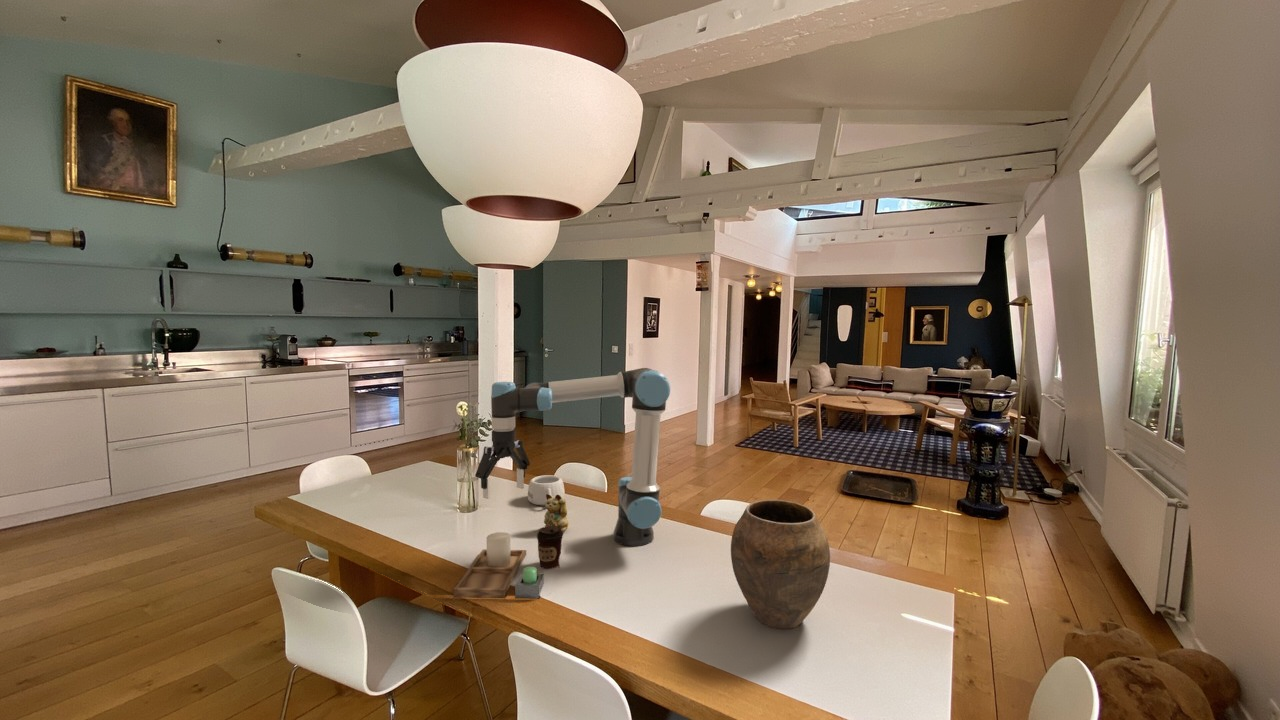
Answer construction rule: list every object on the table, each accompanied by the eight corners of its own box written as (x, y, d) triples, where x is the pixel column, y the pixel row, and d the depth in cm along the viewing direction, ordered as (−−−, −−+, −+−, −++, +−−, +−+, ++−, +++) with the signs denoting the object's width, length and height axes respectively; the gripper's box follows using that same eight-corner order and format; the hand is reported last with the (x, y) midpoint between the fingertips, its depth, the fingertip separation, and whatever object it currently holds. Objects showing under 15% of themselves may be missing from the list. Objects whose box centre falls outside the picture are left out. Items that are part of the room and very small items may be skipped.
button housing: (543, 586, 158) (543, 574, 158) (539, 598, 151) (539, 585, 151) (521, 586, 158) (520, 573, 158) (515, 598, 151) (515, 585, 151)
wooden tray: (526, 557, 178) (526, 550, 178) (505, 598, 151) (504, 590, 151) (482, 556, 178) (482, 549, 178) (453, 597, 151) (453, 589, 151)
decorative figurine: (540, 533, 199) (540, 495, 198) (549, 525, 207) (549, 488, 206) (564, 536, 196) (564, 497, 195) (572, 527, 204) (572, 490, 203)
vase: (710, 616, 143) (712, 509, 141) (762, 583, 161) (764, 489, 159) (797, 660, 124) (800, 538, 122) (844, 617, 143) (848, 511, 141)
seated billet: (513, 558, 175) (513, 532, 174) (507, 568, 167) (506, 541, 167) (490, 558, 175) (490, 532, 174) (483, 568, 167) (483, 541, 167)
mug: (525, 496, 241) (525, 475, 241) (561, 493, 246) (561, 472, 246) (530, 512, 221) (530, 489, 220) (569, 508, 226) (569, 486, 225)
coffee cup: (557, 575, 166) (557, 535, 165) (532, 572, 167) (532, 533, 166) (566, 563, 174) (566, 525, 173) (543, 560, 176) (542, 523, 175)
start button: (537, 582, 157) (537, 566, 156) (535, 589, 153) (535, 573, 152) (524, 582, 157) (524, 566, 156) (521, 589, 153) (521, 572, 152)
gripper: (525, 422, 182) (526, 481, 183) (463, 433, 162) (464, 500, 163) (540, 425, 177) (540, 486, 179) (477, 437, 157) (478, 505, 159)
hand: (503, 492), depth 171 cm, fingers open, 13 cm apart
